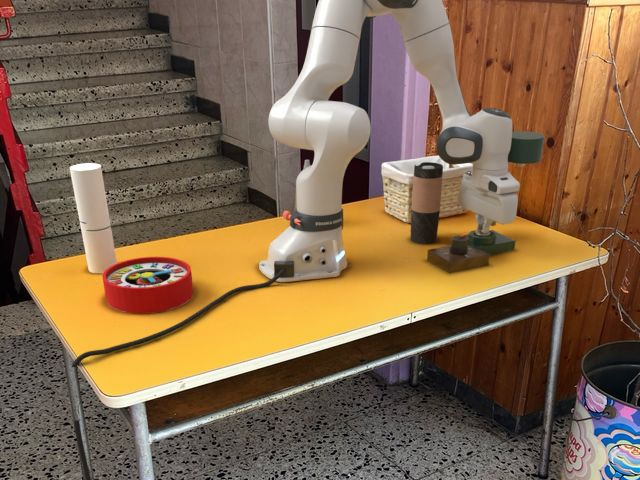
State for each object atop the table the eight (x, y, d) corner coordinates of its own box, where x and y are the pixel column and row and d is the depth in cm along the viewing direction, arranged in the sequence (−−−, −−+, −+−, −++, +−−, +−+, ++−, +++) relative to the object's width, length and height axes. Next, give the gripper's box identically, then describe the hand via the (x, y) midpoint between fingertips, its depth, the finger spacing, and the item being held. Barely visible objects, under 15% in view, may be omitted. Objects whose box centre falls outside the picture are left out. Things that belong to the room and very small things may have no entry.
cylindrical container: (103, 261, 191) (85, 161, 177) (123, 266, 188) (107, 165, 174) (82, 270, 186) (63, 168, 172) (103, 275, 182) (84, 172, 169)
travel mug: (438, 244, 200) (445, 169, 189) (410, 244, 200) (415, 169, 189) (435, 235, 206) (441, 162, 195) (408, 235, 206) (412, 162, 196)
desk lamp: (501, 230, 196) (512, 142, 183) (478, 220, 203) (488, 134, 191) (539, 223, 200) (553, 136, 188) (515, 213, 208) (527, 129, 196)
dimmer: (449, 273, 182) (450, 261, 180) (426, 260, 190) (427, 249, 188) (488, 265, 186) (489, 253, 185) (465, 253, 194) (466, 241, 192)
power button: (480, 242, 192) (481, 235, 191) (471, 237, 195) (472, 231, 194) (492, 239, 193) (493, 233, 192) (483, 235, 196) (484, 228, 195)
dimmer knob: (460, 256, 184) (461, 241, 182) (446, 251, 186) (447, 237, 184) (470, 251, 186) (472, 237, 184) (456, 247, 189) (458, 233, 187)
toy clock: (91, 266, 171) (173, 251, 180) (96, 289, 175) (176, 274, 183) (116, 295, 157) (204, 277, 165) (121, 320, 160) (206, 301, 168)
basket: (404, 226, 214) (407, 174, 206) (377, 211, 226) (379, 161, 218) (472, 214, 222) (478, 164, 214) (442, 201, 235) (446, 153, 226)
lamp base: (477, 257, 191) (479, 240, 189) (455, 246, 199) (456, 229, 196) (514, 250, 196) (516, 233, 193) (491, 239, 203) (493, 223, 201)
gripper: (454, 170, 192) (450, 222, 200) (504, 189, 177) (497, 245, 185) (474, 167, 195) (469, 219, 202) (524, 185, 179) (517, 241, 187)
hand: (482, 231), depth 193 cm, fingers closed, pressing on power button
